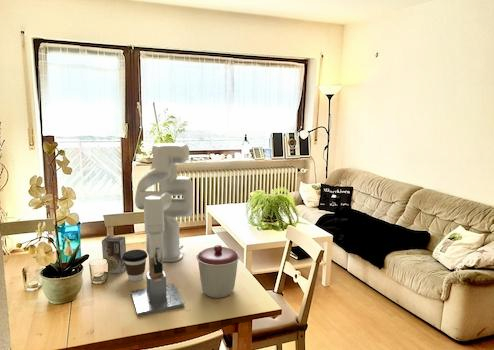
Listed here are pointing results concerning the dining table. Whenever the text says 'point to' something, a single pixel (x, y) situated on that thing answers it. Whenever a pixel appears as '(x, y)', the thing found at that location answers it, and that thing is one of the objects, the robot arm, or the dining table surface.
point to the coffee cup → (135, 264)
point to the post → (151, 268)
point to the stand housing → (156, 296)
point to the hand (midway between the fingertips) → (155, 267)
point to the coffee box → (114, 253)
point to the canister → (218, 270)
